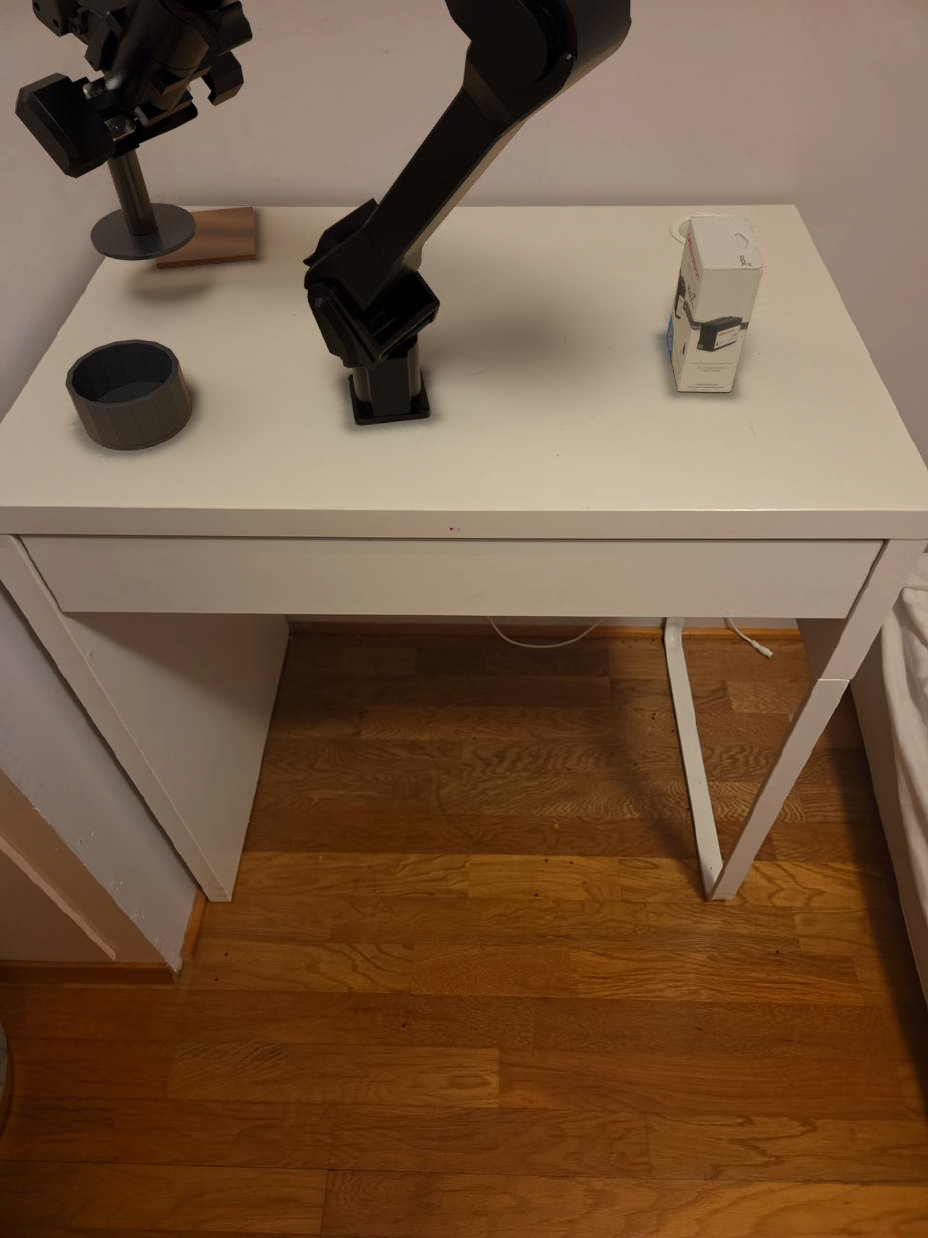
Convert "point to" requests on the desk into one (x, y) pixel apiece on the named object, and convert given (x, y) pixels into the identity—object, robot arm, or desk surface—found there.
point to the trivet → (216, 239)
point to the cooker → (129, 394)
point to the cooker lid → (139, 219)
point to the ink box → (713, 302)
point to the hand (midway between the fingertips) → (109, 149)
